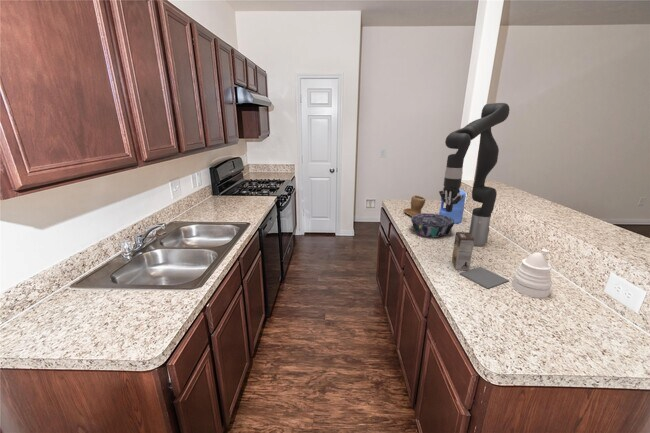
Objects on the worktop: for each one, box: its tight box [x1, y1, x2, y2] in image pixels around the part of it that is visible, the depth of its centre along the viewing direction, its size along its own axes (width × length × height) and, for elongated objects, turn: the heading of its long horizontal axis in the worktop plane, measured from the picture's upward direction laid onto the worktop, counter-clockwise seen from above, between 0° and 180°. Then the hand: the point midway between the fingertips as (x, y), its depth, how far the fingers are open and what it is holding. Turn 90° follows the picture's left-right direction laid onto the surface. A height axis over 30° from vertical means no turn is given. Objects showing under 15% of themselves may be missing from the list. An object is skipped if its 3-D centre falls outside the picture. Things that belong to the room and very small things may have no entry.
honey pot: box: [511, 248, 553, 299], centre depth 115 cm, size 13×13×18 cm
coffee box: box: [451, 231, 475, 271], centre depth 135 cm, size 9×6×16 cm
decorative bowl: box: [410, 212, 455, 238], centre depth 179 cm, size 26×28×10 cm
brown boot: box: [403, 195, 426, 217], centre depth 211 cm, size 15×12×15 cm
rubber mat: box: [459, 266, 510, 290], centre depth 126 cm, size 14×14×1 cm
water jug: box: [438, 188, 467, 225], centre depth 197 cm, size 16×16×28 cm
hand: (448, 211), depth 139 cm, fingers closed
